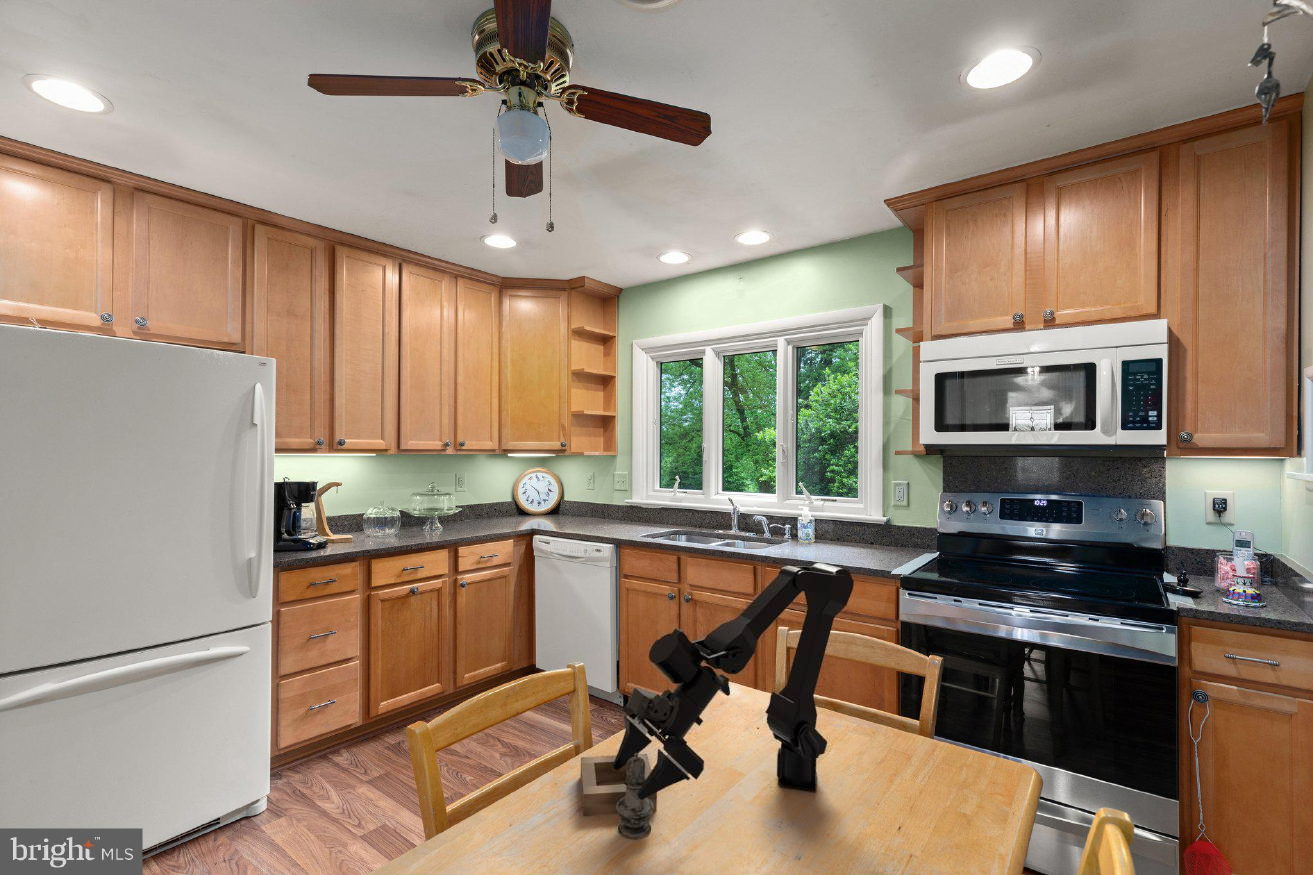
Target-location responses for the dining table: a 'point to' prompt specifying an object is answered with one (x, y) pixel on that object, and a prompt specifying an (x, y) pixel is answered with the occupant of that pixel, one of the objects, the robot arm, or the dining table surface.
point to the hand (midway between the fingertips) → (626, 782)
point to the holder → (607, 796)
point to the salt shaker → (634, 803)
